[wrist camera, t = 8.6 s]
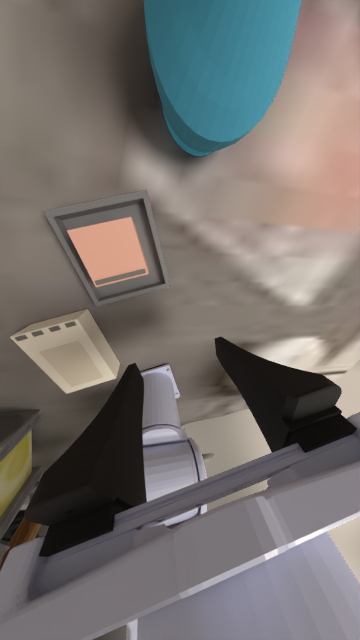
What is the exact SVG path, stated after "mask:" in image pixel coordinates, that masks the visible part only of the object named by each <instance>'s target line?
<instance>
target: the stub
mask: <svg viewBox="0 0 360 640" xmlns="http://www.w3.org/2000/svg"><path fill="white" fill-rule="evenodd" d="M67 232H68V234H69V236H70V238H71V240H72V242H73V244H74V246H75V248H76V250H77V252H78V254H79V256H80V258H81V259H82V261H83V263H84V265H85V267H86V269H87V271H88V273H89V275H90V277H91V279H92V281H93V283H94V285H95V287H99V286H103V285H107V284H111V283H115V282H119V281H123V280H127V279H131V278H135V277H139V276H143V275H147V274H149V269H148V265H147V262H146V259H145V256H144V252H143V249H142V246H141V242H140V239H139V236H138V232H137V229H136V226H135V224H134V222H133V220H132V218H131V217H127V218H123V219H118V220H113V221H109V222H104V223H99V224H95V225H90V226H86V227H81V228H76V229H72V230H67Z"/></svg>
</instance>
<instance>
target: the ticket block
mask: <svg viewBox="0 0 360 640" xmlns="http://www.w3.org/2000/svg"><path fill="white" fill-rule="evenodd" d="M10 338H11V339H12V340H13V341H14V342H15V343H16V344H17V345H18V346H19V347H20V348H21V349H22V350H23V351H24V352H25V353H26V354H27V355H28V356H29V357H30V358H31V359H32V360H33V361H34V362H35V363H36V364H37V365H38V366H39V367H40V368H41V369H42V370H43V371H44V372H45V373H46V374H47V375H48V376H49V377H50V378H51V379H52V380H53V381H54V382H55V383H56V384H57V385H58V386H59V387H60V388H61V389H62V390H63V391H64V392H65V393H66V394H68V393H71V392H74V391H77V390H81V389H84V388H87V387H90V386H93V385H96V384H100V383H103V382H106V381H109V380H112V379H116V377H117V373H118V369H119V365H120V363H119V361H118V359H117V358H116V356H115V354H114V353H113V351H112V349H111V348H110V346H109V344H108V343H107V341H106V339H105V337H104V336H103V334H102V332H101V331H100V329H99V327H98V326H97V324H96V322H95V320H94V319H93V317H92V315H91V314H90V312H89V310H88V309H86V310H82V311H78V312H74V313H71V314H67V315H63V316H60V317H56V318H52V319H48V320H45V321H41V322H37V323H34V324H31V325H29V326H27V327H26V328H24V329H22V330H21V331H19V332H18V333H16V334H14V335H13V336H11V337H10Z"/></svg>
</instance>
